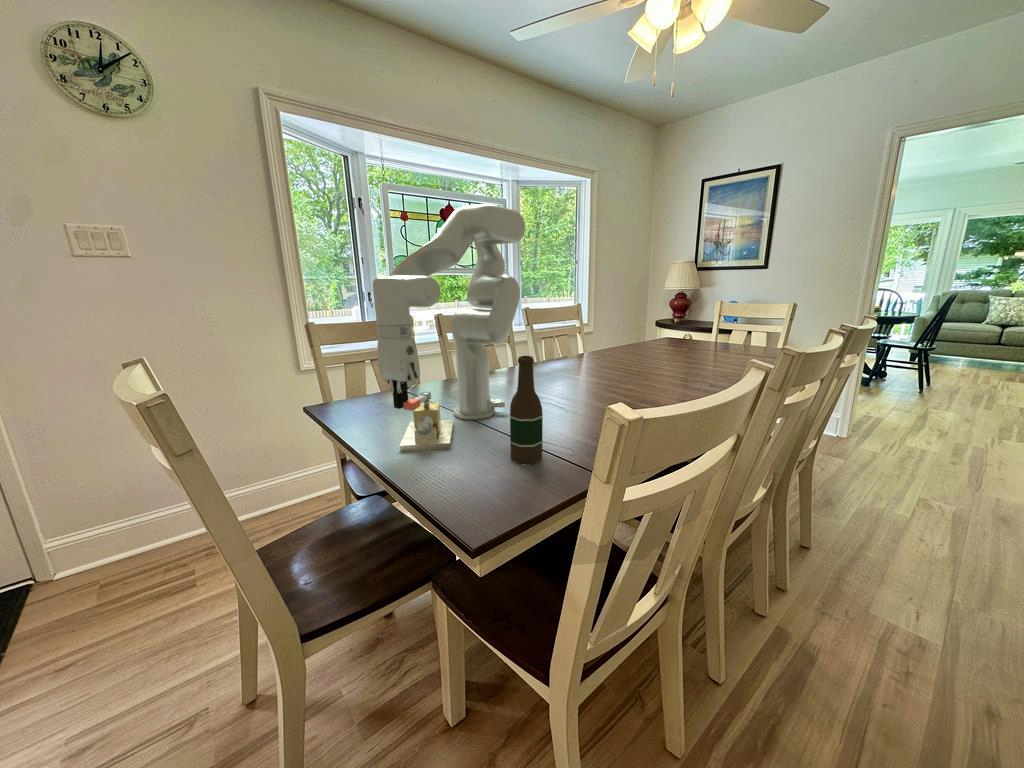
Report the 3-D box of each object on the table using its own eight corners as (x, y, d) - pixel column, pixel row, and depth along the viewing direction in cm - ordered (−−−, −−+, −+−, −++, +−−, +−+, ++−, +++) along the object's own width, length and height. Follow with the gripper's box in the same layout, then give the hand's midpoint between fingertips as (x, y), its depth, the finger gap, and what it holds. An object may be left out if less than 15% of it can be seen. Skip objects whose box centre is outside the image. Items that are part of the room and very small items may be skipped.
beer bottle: (517, 468, 87) (516, 362, 81) (504, 454, 94) (502, 355, 87) (548, 461, 90) (550, 358, 84) (533, 448, 97) (533, 352, 90)
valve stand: (453, 424, 113) (451, 389, 110) (450, 448, 97) (447, 408, 94) (410, 426, 112) (407, 391, 109) (400, 451, 96) (396, 410, 93)
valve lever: (424, 397, 103) (423, 390, 103) (433, 398, 102) (432, 391, 102) (403, 409, 94) (403, 402, 94) (413, 410, 93) (413, 403, 93)
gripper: (429, 332, 90) (434, 408, 95) (387, 327, 98) (394, 397, 103) (403, 336, 84) (410, 417, 89) (360, 331, 93) (369, 405, 98)
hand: (401, 406), depth 96 cm, fingers closed
